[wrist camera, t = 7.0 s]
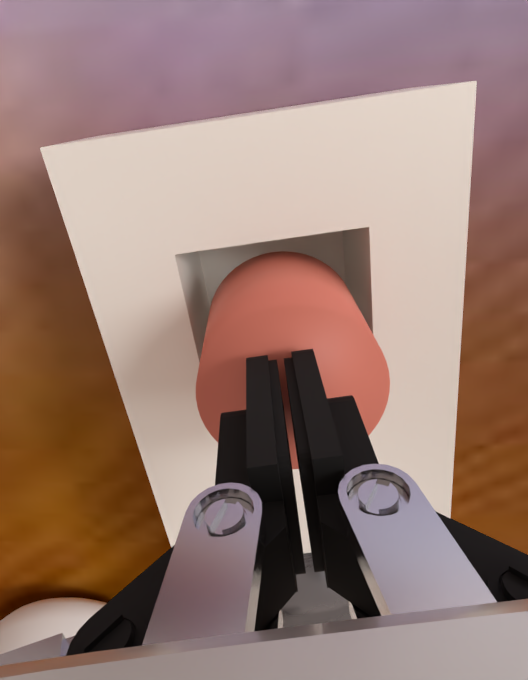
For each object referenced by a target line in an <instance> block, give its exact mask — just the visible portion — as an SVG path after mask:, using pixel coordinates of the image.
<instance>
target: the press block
mask: <svg viewBox="0 0 528 680" xmlns="http://www.w3.org/2000/svg"><path fill="white" fill-rule="evenodd" d="M476 86H477V81H470V82H460V83H451V84H442V85H433V86H424V87H414V88H406V89H399V90H393V91H386V92H380V93H373V94H367V95H360V96H354V97H347V98H341V99H334V100H328V101H321V102H315V103H308V104H302V105H295V106H289V107H282V108H276V109H269V110H263V111H256V112H250V113H243V114H236V115H230V116H223V117H217V118H210V119H204V120H197V121H191V122H184V123H178V124H171V125H165V126H158V127H152V128H145V129H139V130H132V131H126V132H119V133H113V134H106V135H100V136H95V137H90V138H85V139H80V140H75V141H70V142H65V143H60V144H55V145H51V146H46V147H41V148H40V150H41V153H42V156H43V159H44V162H45V165H46V168H47V171H48V174H49V177H50V180H51V183H52V186H53V190H54V193H55V196H56V199H57V202H58V205H59V208H60V211H61V214H62V217H63V220H64V223H65V226H66V229H67V232H68V235H69V238H70V241H71V244H72V247H73V250H74V253H75V256H76V259H77V262H78V266H79V269H80V272H81V275H82V278H83V281H84V284H85V287H86V290H87V293H88V296H89V299H90V302H91V305H92V308H93V311H94V314H95V317H96V320H97V323H98V326H99V329H100V332H101V335H102V338H103V342H104V345H105V348H106V351H107V354H108V357H109V360H110V363H111V366H112V369H113V372H114V375H115V378H116V381H117V384H118V387H119V390H120V393H121V396H122V399H123V402H124V405H125V408H126V411H127V414H128V418H129V421H130V424H131V427H132V430H133V433H134V436H135V439H136V442H137V445H138V448H139V451H140V454H141V457H142V460H143V463H144V466H145V469H146V472H147V475H148V478H149V481H150V484H151V487H152V490H153V494H154V497H155V500H156V503H157V506H158V509H159V512H160V515H161V518H162V521H163V524H164V527H165V530H166V533H167V536H168V539H169V542H170V545H171V547H173V546H174V545H175V543H176V540H177V537H178V534H179V531H180V528H181V524H182V521H183V518H184V515H185V512H186V510H187V508H188V506H189V504H190V502H191V501H192V500H193V499H194V498H195V497H196V496H197V495H198V494H200V493H201V492H203V491H204V490H206V489H207V488H210V487H212V486H215V478H216V465H217V452H218V442H217V441H216V440H215V439H214V438H213V437H212V436H211V434H210V433H209V431H208V430H207V429H206V427H205V425H204V423H203V421H202V419H201V417H200V414H199V411H198V408H197V402H196V381H197V374H198V369H199V364H200V358H201V353H202V348H203V343H204V337H205V332H206V327H207V322H208V316H209V311H210V306H211V303H212V299H213V297H214V294H215V292H216V290H217V288H218V287H219V285H220V284H221V282H222V281H223V280H224V278H225V277H226V276H227V275H228V274H229V273H230V272H231V271H232V270H233V269H235V268H236V267H237V266H239V265H240V264H242V263H243V262H245V261H247V260H249V259H251V258H253V257H256V256H259V255H262V254H266V253H270V252H280V251H288V252H297V253H302V254H306V255H309V256H312V257H314V258H316V259H318V260H320V261H322V262H324V263H325V264H327V265H328V266H330V267H331V268H332V269H333V270H334V271H335V272H336V273H337V274H338V275H339V276H340V277H341V278H342V280H343V281H344V283H345V284H346V286H347V288H348V289H349V291H350V293H351V295H352V297H353V299H354V300H355V302H356V304H357V306H358V308H359V310H360V311H361V313H362V315H363V317H364V319H365V321H366V322H367V324H368V326H369V328H370V330H371V332H372V333H373V335H374V337H375V339H376V341H377V343H378V345H379V346H380V348H381V350H382V352H383V355H384V357H385V359H386V362H387V366H388V369H389V377H390V391H389V397H388V402H387V405H386V408H385V411H384V413H383V415H382V417H381V419H380V421H379V423H378V424H377V426H376V427H375V428H374V430H373V431H372V432H371V433H370V435H369V439H370V442H371V444H372V447H373V450H374V452H375V455H376V458H377V460H378V463H379V464H385V465H389V466H392V467H396V468H398V469H400V470H402V471H403V472H405V473H407V474H408V475H409V476H410V477H411V478H412V479H413V480H414V481H415V482H416V484H417V485H418V487H419V488H420V490H421V491H422V492H423V494H424V495H425V497H426V498H427V500H428V501H429V503H430V504H431V506H432V507H433V509H434V510H435V511H436V512H438V513H440V514H442V515H444V516H446V517H448V518H450V516H451V500H452V483H453V467H454V450H455V434H456V417H457V400H458V384H459V367H460V351H461V334H462V318H463V301H464V284H465V268H466V251H467V235H468V218H469V202H470V185H471V168H472V152H473V135H474V119H475V102H476ZM292 471H293V479H294V486H295V494H296V501H297V509H298V516H299V524H300V532H301V539H302V547H303V553H311V547H310V540H309V533H308V527H307V520H306V513H305V507H304V500H303V493H302V487H301V480H300V473H299V469H292Z"/></svg>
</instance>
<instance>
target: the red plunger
mask: <svg viewBox="0 0 528 680" xmlns="http://www.w3.org/2000/svg"><path fill="white" fill-rule="evenodd" d="M307 349H313V351H314V354H315V358H316V361H317V365H318V368H319V372H320V375H321V379H322V382H323V386H324V390H325V393H326V397H327V398H335V397H342V396H349V395H352V396H353V397H354V399H355V402H356V404H357V407H358V410H359V412H360V415H361V418H362V420H363V423H364V426H365V428H366V431H367V434H368V436H369V435H370V433H371V432H372V431H373V430H374V428H375V427H376V426H377V424H378V423H379V421H380V419H381V417H382V415H383V413H384V411H385V408H386V405H387V402H388V397H389V391H390V377H389V369H388V366H387V362H386V359H385V357H384V355H383V352H382V350H381V348H380V346H379V345H378V343H377V341H376V339H375V337H374V335H373V333H372V332H371V330H370V328H369V326H368V324H367V322H366V321H365V319H364V317H363V315H362V313H361V311H360V310H359V308H358V306H357V304H356V302H355V300H354V299H353V297H352V295H351V293H350V291H349V289H348V288H347V286H346V284H345V283H344V281H343V280H342V278H341V277H340V276H339V275H338V274H337V273H336V272H335V271H334V270H333V269H332V268H331V267H330V266H328V265H327V264H325V263H324V262H322V261H320V260H318V259H316V258H314V257H312V256H309V255H306V254H302V253H297V252H288V251H280V252H270V253H266V254H262V255H259V256H256V257H253V258H251V259H249V260H247V261H245V262H243V263H242V264H240V265H239V266H237V267H236V268H235V269H233V270H232V271H231V272H230V273H229V274H228V275H227V276H226V277H225V278H224V280H223V281H222V282H221V284H220V285H219V287H218V288H217V290H216V292H215V294H214V297H213V299H212V303H211V306H210V311H209V316H208V322H207V327H206V332H205V337H204V343H203V348H202V353H201V358H200V364H199V369H198V374H197V381H196V402H197V408H198V411H199V414H200V417H201V419H202V421H203V423H204V425H205V427H206V429H207V430H208V431H209V433H210V434H211V436H212V437H213V438H214V439H215V440H216V441H217V442H218V439H219V427H220V416H221V413H224V412H231V411H239V410H246V358H249V357H256V356H264V355H268V360H276V359H277V365H278V372H279V379H280V386H281V393H282V400H283V406H284V413H285V420H286V427H287V434H288V441H289V449H290V456H291V463H292V469H299V467H298V460H297V453H296V446H295V439H294V432H293V424H292V417H291V409H290V402H289V395H288V387H287V380H286V372H285V365H284V358H290V357H292V354H291V352H292V351H300V350H307Z"/></svg>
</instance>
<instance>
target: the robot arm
mask: <svg viewBox="0 0 528 680" xmlns="http://www.w3.org/2000/svg"><path fill="white" fill-rule="evenodd" d="M291 354H292V357H290V358H284V365H285V372H286V380H287V387H288V395H289V402H290V409H291V417H292V424H293V432H294V439H295V446H296V453H297V460H298V467H299V473H300V480H301V487H302V493H303V500H304V507H305V513H306V520H307V527H308V533H309V540H310V547H311V554H312V560H313V567H314V572H321V571H324V572H325V578H326V584H327V588H330V589H332V590H333V591H335V592H336V593H337V594H339V595H340V596H342V597H343V598H345V599H346V600H347V601H348V607H349V612H350V615H351V618H352V620H343V621H335V622H327V623H319V624H310V625H302V626H294V627H286V628H283V613H282V608H283V607H284V606H285V604H286V603H287V602H288V601H289V600H290V598H291V597H292V596H293V595H294V594H295V593H296V592H298V588H297V579H296V575H297V574H305V573H306V570H305V562H304V554H303V547H302V539H301V532H300V524H299V516H298V509H297V501H296V494H295V486H294V479H293V471H292V463H291V456H290V449H289V441H288V434H287V427H286V420H285V413H284V406H283V400H282V393H281V386H280V379H279V372H278V365H277V359H276V360H268V355H264V356H256V357H249V358H246V410H239V411H231V412H224V413H221V416H220V427H219V439H218V452H217V465H216V478H215V486H212V487H210V488H207V489H206V490H204V491H203V492H201V493H200V494H198V495H197V496H196V497H195V498H194V499H193V500H192V501H191V502H190V504H189V506H188V508H187V510H186V512H185V515H184V518H183V521H182V524H181V528H180V531H179V534H178V537H177V540H176V543H175V545H174V546H173V547H171V548H170V549H169V550H168V551H167V552H166V553H165V554H163V555H162V556H161V557H160V558H159V559H158V560H156V561H155V562H154V563H153V564H152V565H151V566H149V567H148V568H147V569H146V570H145V571H144V572H143V573H141V574H140V575H139V576H138V577H137V578H136V579H134V580H133V581H132V582H131V583H130V584H129V585H127V586H126V587H125V588H124V589H123V590H122V591H120V592H119V593H118V594H117V595H116V596H115V597H114V598H112V599H111V600H110V601H109V602H108V603H107V604H105V605H104V606H103V607H102V608H101V609H100V610H98V611H97V612H96V613H95V614H94V615H93V616H92V617H90V618H89V619H88V620H87V621H86V623H85V624H84V625H83V626H82V627H81V628H80V629H79V630H78V632H77V633H76V635H75V636H72V637H69V638H65V636H64V635H63V633H60V634H57V635H55V636H52V637H49V638H46V639H43V640H40V641H37V642H35V643H32V644H29V645H26V646H23V647H20V648H17V649H14V650H12V651H9V652H6V653H3V654H0V680H528V555H527V554H524V553H522V552H520V551H518V550H516V549H514V548H512V547H510V546H508V545H505V544H503V543H501V542H499V541H497V540H495V539H493V538H491V537H489V536H486V535H484V534H482V533H480V532H478V531H476V530H474V529H472V528H470V527H467V526H465V525H463V524H461V523H459V522H457V521H455V520H453V519H451V518H448V517H446V516H444V515H442V514H440V513H438V512H436V511H435V510H434V509H433V507H432V506H431V504H430V503H429V501H428V500H427V498H426V497H425V495H424V494H423V492H422V491H421V490H420V488H419V487H418V485H417V484H416V482H415V481H414V480H413V479H412V478H411V477H410V476H409V475H408V474H407V473H405V472H403V471H402V470H400V469H398V468H396V467H392V466H389V465H385V464H379V463H378V460H377V458H376V455H375V452H374V450H373V447H372V444H371V442H370V439H369V436H368V434H367V431H366V428H365V426H364V423H363V420H362V418H361V415H360V412H359V410H358V407H357V404H356V402H355V399H354V397H353V396H352V395H349V396H342V397H335V398H327V397H326V393H325V390H324V386H323V382H322V379H321V375H320V372H319V368H318V365H317V361H316V358H315V354H314V351H313V349H307V350H300V351H292V352H291Z"/></svg>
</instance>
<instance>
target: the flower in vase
mask: <svg viewBox="0 0 528 680" xmlns="http://www.w3.org/2000/svg"><path fill="white" fill-rule="evenodd" d="M105 604H107V603H105V602H101V601H97V600H91V599H85V598H51V599H45V600H40V601H36V602H33V603H29V604H27V605H25V606H22V607H20V608H18V609H17V610H15V611H13V612H12V613H10V614H9V615H7V616H6V617H5V618H3V619H2V620H1V621H0V654H3V653H6V652H9V651H12V650H14V649H17V648H20V647H23V646H26V645H29V644H32V643H35V642H37V641H40V640H43V639H46V638H49V637H52V636H55V635H57V634H60V633H63V635H64V636H65V638H69V637H72V636H75V635H76V633H77V632H78V630H79V629H80V628H81V627H82V626H83V625H84V624H85V623H86V621H87V620H88V619H89V618H90V617H92V616H93V615H94V614H95V613H96V612H97V611H98V610H100V609H101V608H102V607H103V606H104V605H105Z"/></svg>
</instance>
